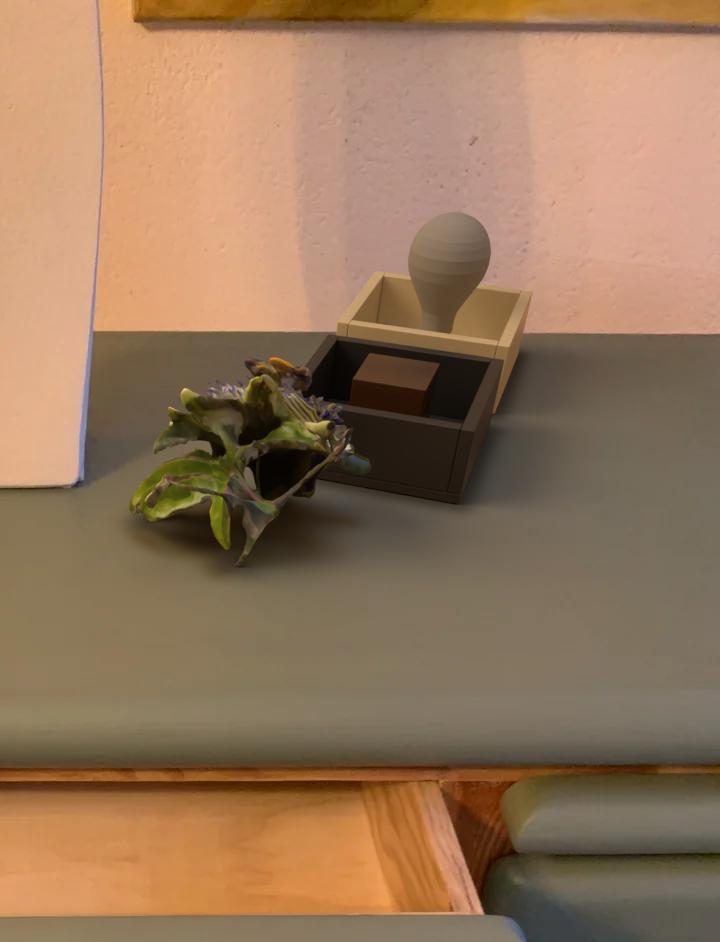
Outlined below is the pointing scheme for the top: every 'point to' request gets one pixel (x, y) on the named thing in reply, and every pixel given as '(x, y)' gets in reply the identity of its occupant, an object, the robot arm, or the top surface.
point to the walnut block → (395, 385)
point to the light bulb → (447, 266)
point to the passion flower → (248, 450)
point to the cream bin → (474, 332)
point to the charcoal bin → (410, 418)
